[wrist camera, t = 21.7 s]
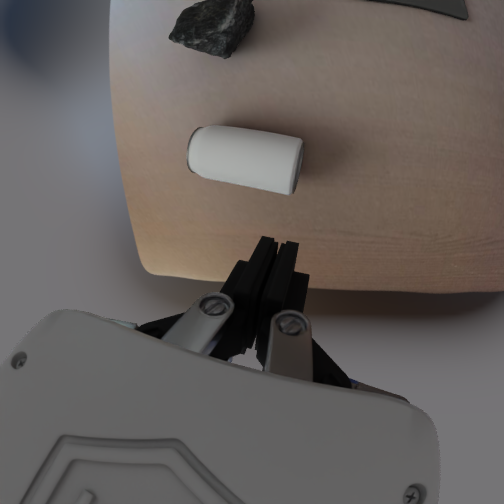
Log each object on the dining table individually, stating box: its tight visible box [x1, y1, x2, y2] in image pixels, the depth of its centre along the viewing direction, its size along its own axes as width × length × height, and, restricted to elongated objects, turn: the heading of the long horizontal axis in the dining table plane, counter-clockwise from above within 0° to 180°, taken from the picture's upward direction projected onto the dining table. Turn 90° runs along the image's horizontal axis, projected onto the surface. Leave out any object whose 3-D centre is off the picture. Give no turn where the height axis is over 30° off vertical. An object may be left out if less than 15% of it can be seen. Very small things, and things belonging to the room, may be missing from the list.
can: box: [187, 125, 304, 195], centre depth 29 cm, size 6×6×12 cm
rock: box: [169, 0, 255, 59], centre depth 20 cm, size 8×7×10 cm
